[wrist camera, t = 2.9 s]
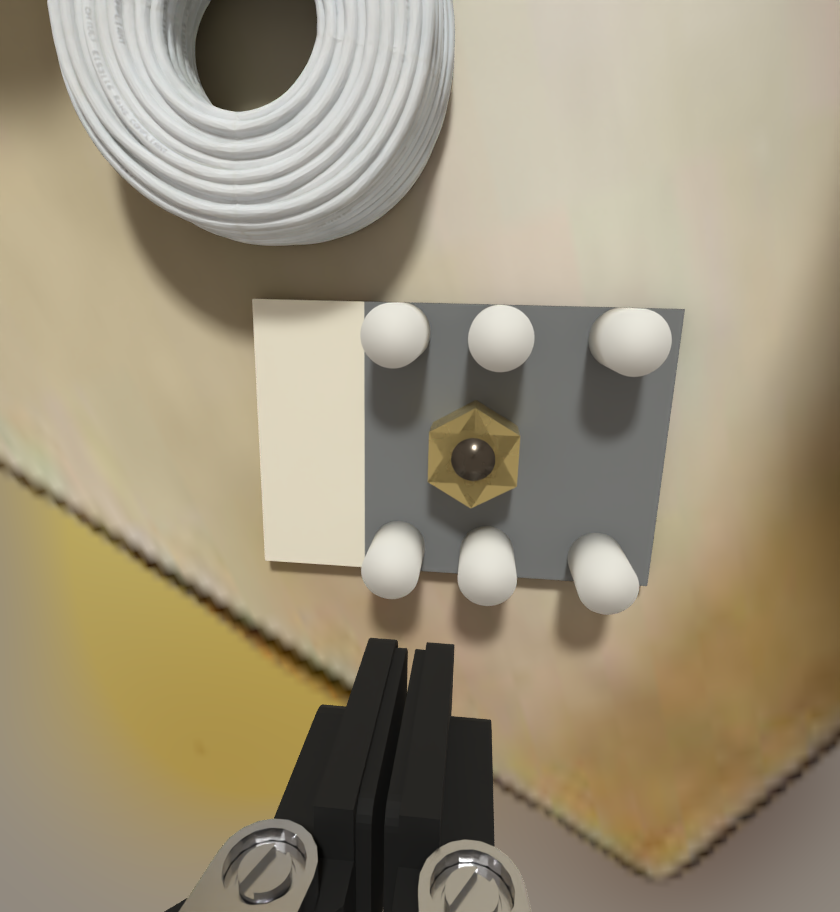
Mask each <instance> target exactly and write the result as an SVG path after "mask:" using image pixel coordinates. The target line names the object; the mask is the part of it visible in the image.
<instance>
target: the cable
mask: <svg viewBox="0 0 840 912" xmlns="http://www.w3.org/2000/svg"><path fill="white" fill-rule="evenodd" d="M210 1H211V0H47V5H48V11H49V17H50V23H51V28H52V34H53V39H54V44H55V48H56V52H57V55H58V60H59V65H60V69H61V73H62V76H63V79H64V82H65V85H66V88H67V91H68V94H69V96H70V99H71V102H72V104H73V106H74V109H75V111H76V113H77V115H78V117H79V119H80V121H81V123H82V124H83V126H84V128H85V130H86V131H87V133H88V135H89V136H90V138H91V139H92V141H93V143H94V144H95V146H96V147H97V148H98V150H99V151H100V152H101V154H102V155H103V157H104V158H105V159H106V160H107V161H108V162H109V163H110V165H111V166H112V167H113V168H114V169H115V170H116V171H117V172H118V173H119V174H120V175H121V176H122V177H123V178H124V179H125V180H126V181H127V182H128V183H129V184H130V185H131V186H132V187H134V188H135V189H136V190H137V191H138V192H140V193H141V194H142V195H143V196H145V197H146V198H148V199H149V200H150V201H152V202H153V203H154V204H156V205H157V206H159V207H161V208H162V209H164V210H166V211H168V212H170V213H172V214H174V215H176V216H178V217H180V218H182V219H184V220H187V221H189V222H191V223H193V224H195V225H196V226H198V227H200V228H202V229H204V230H206V231H208V232H211V233H213V234H215V235H218V236H222V237H225V238H228V239H231V240H234V241H238V242H242V243H247V244H254V245H265V246H287V245H307V244H315V243H321V242H326V241H330V240H333V239H337V238H340V237H343V236H346V235H349V234H352V233H354V232H356V231H359V230H360V229H362V228H364V227H366V226H368V225H370V224H371V223H373V222H374V221H376V220H377V219H379V218H380V217H382V216H383V215H384V214H386V213H387V212H388V211H389V210H390V209H391V208H393V207H394V206H395V205H396V204H397V203H398V202H399V201H400V200H401V199H402V198H403V197H404V196H405V195H406V193H407V192H408V191H409V190H410V189H411V187H412V186H413V185H414V183H415V182H416V180H417V179H418V177H419V176H420V174H421V173H422V171H423V169H424V167H425V165H426V164H427V162H428V160H429V157H430V155H431V153H432V150H433V147H434V145H435V143H436V141H437V138H438V136H439V133H440V131H441V128H442V125H443V122H444V118H445V114H446V110H447V106H448V101H449V97H450V91H451V85H452V79H453V69H454V47H455V22H454V10H453V1H452V0H315V4H316V13H317V37H316V41H315V44H314V47H313V51H312V54H311V56H310V58H309V61H308V63H307V65H306V66H305V68H304V70H303V71H302V73H301V75H300V76H299V77H298V79H297V80H296V81H295V83H294V84H293V85H292V86H291V87H290V88H289V89H288V91H286V92H285V93H284V94H283V95H282V96H280V97H279V98H278V99H276V100H274V101H273V102H271V103H269V104H267V105H265V106H262V107H260V108H257V109H253V110H249V111H243V112H234V111H228V110H223V109H220V108H218V107H215V106H213V105H212V103H211V102H210V100H209V99H208V97H207V95H206V94H205V92H204V89H203V87H202V85H201V82H200V79H199V76H198V72H197V67H196V58H195V40H196V36H197V31H198V27H199V24H200V21H201V19H202V16H203V14H204V12H205V10H206V8H207V6H208V5H209V3H210Z"/></svg>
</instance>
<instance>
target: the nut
mask: <svg viewBox="0 0 840 912" xmlns="http://www.w3.org/2000/svg"><path fill="white" fill-rule="evenodd" d="M519 449H520V433H519V430H518V426H517V425H515V424H514V423H512V422H511V421H509V420H507V419H506V418H504V417H503V416H501V415H499V414H498V413H496V412H495V411H493V410H491V409H490V408H488V407H487V406H485V405H483V404H482V403H480V402H479V401H477V400H475V401H473V402H471V403H469V404H467V405H465V406H463V407H461V408H460V409H458V410H456V411H454V412H452V413H450V414H448V415H446V416H444V417H442V418H440V419H438V420H436V421H434V422H433V424H432V426H431V428H430V431H429V452H428V482H429V483H430V484H432V485H433V486H435V487H437V488H438V489H440V490H442V491H443V492H445V493H446V494H448V495H450V496H451V497H453V498H455V499H456V500H458V501H459V502H461V503H463V504H464V505H466V506H468V507H469V508H473V507H475V506H477V505H479V504H481V503H483V502H486V501H488V500H490V499H492V498H494V497H496V496H498V495H500V494H502V493H505V492H507V491H509V490H511V489H513V488H515V487H517V478H518V464H519Z"/></svg>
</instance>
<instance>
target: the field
mask: <svg viewBox="0 0 840 912" xmlns="http://www.w3.org/2000/svg"><path fill="white" fill-rule="evenodd" d="M252 306H253V326H254V346H255V366H256V386H257V406H258V426H259V447H260V467H261V487H262V507H263V527H264V547H265V561H280V562H295V563H310V564H325V565H340V566H355V567H361V575H362V579H363V581H364V583H365V585H366V586H367V588H368V589H369V590H370V591H371V592H372V593H374V594H375V595H377V596H379V597H382V598H386V599H398V598H401V597H404V596H406V595H408V594H409V593H410V592H411V591H412V590H413V589H414V588H415V586H416V584H417V582H418V578H419V573H420V571H430V572H445V573H458V585H459V588H460V590H461V592H462V593H463V595H464V596H465V597H466V598H467V599H468V600H470V601H471V602H473V603H475V604H478V605H482V606H494V605H498V604H500V603H502V602H504V601H506V600H507V599H508V598H509V597H510V596H511V595H512V594H513V592H514V590H515V588H516V584H517V577H519V578H534V579H549V580H564V581H574V584H575V587H576V590H577V593H578V596H579V598H580V600H581V602H582V603H583V604H584V605H585V606H586V607H587V608H588V609H590V610H591V611H593V612H596V613H599V614H605V615H609V614H616V613H619V612H622V611H624V610H625V609H627V608H628V607H630V606H631V605H632V604H633V602H634V601H635V599H636V598H637V595H638V592H639V586H647V583H648V576H649V568H650V561H651V554H652V546H653V539H654V532H655V524H656V517H657V510H658V502H659V495H660V487H661V480H662V473H663V465H664V458H665V451H666V443H667V436H668V429H669V421H670V414H671V407H672V399H673V392H674V385H675V377H676V370H677V363H678V355H679V348H680V341H681V333H682V326H683V319H684V311H685V309H657V308H615V307H573V306H532V305H490V304H448V303H406V302H364V301H323V300H281V299H252ZM475 400H477V401H479V402H480V403H482V404H483V405H485V406H487V407H488V408H490V409H491V410H493V411H495V412H496V413H498V414H499V415H501V416H503V417H504V418H506V419H507V420H509V421H511V422H512V423H514V424H515V425H517V426H518V430H519V433H520V449H519V464H518V478H517V487H515V488H513V489H511V490H509V491H507V492H505V493H502V494H500V495H498V496H496V497H494V498H492V499H490V500H488V501H486V502H483V503H481V504H479V505H477V506H475V507H473V508H469V507H468V506H466V505H464V504H463V503H461V502H459V501H458V500H456V499H455V498H453V497H451V496H450V495H448V494H446V493H445V492H443V491H442V490H440V489H438V488H437V487H435V486H433V485H432V484H430V483H429V482H428V452H429V431H430V428H431V426H432V424H433V422H434V421H436V420H438V419H440V418H442V417H444V416H446V415H448V414H450V413H452V412H454V411H456V410H458V409H460V408H461V407H463V406H465V405H467V404H469V403H471V402H473V401H475Z"/></svg>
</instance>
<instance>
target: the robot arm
mask: <svg viewBox="0 0 840 912" xmlns="http://www.w3.org/2000/svg"><path fill="white" fill-rule="evenodd" d="M407 662H408V650H407V648H398V641H397V640H391V639H378V638H369V640H368V643H367V646H366V649H365V652H364V655H363V658H362V661H361V664H360V667H359V670H358V673H357V676H356V679H355V682H354V685H353V688H352V691H351V694H350V697H349V700H348V703H347V706H346V707H344V706H333V705H321V706H320V707H319V709H318V711H317V713H316V715H315V718H314V720H313V723H312V725H311V728H310V730H309V733H308V735H307V737H306V740H305V742H304V745H303V748H302V750H301V752H300V755H299V757H298V760H297V762H296V765H295V767H294V770H293V773H292V775H291V777H290V780H289V782H288V785H287V787H286V790H285V792H284V795H283V797H282V800H281V802H280V805H279V807H278V810H277V812H276V815H275V817H274V819H269V820H262V821H258V822H255V823H253V824H251V825H248V826H246V827H244V828H242V829H241V830H239V831H238V832H237V833H235V834H234V835H232V836H231V837H230V838H229V839H228V840H227V841H226V842H225V844H224V845H223V846H222V847H221V848H220V849H219V851H218V852H217V854H216V855H215V857H214V858H213V860H212V861H211V863H210V864H209V866H208V868H207V869H206V871H205V872H204V874H203V875H202V877H201V878H200V880H199V881H198V883H197V884H196V886H195V887H194V889H193V891H192V892H191V894H190V895H189V897H188V898H186V899H185V900H183V901H181V902H180V903H178V904H176V905H175V906H173V907H172V908H170V909H168V910H166V911H165V912H531V908H530V903H529V899H528V895H527V891H526V886H525V884H524V881H523V879H522V876H521V873H520V871H519V870H518V868H517V867H516V866H515V864H514V863H513V862H512V860H511V859H510V858H509V857H508V856H506V855H505V854H504V853H503V852H501V851H500V850H499V849H497V848H496V847H494V812H493V769H492V729H491V720H487V719H476V718H465V717H454V716H451V710H452V688H453V666H454V644H441V643H428V642H427V645H426V650H420V649H416V650H415V654H414V659H413V665H412V670H411V675H410V681H409V686H408V691H407Z"/></svg>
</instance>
